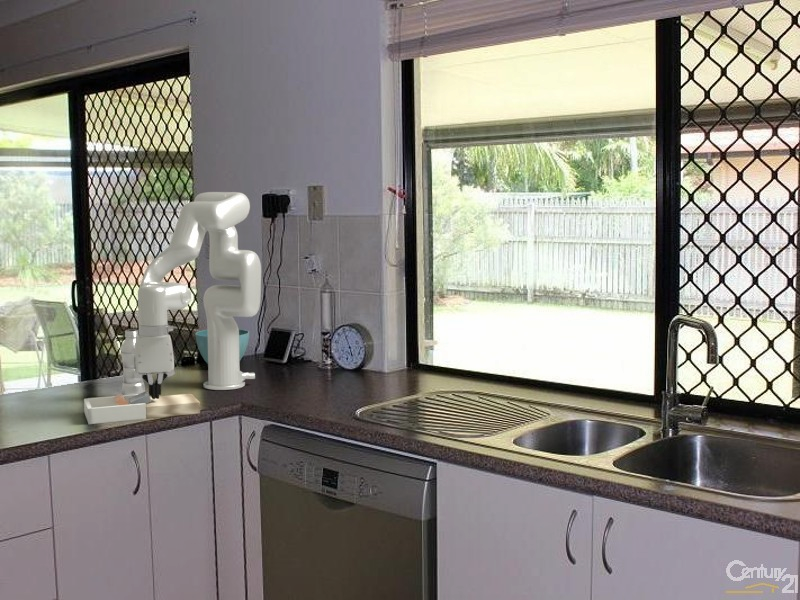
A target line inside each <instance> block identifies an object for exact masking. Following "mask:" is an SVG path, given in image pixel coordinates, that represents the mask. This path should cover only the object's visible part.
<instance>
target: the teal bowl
mask: <svg viewBox="0 0 800 600" xmlns="http://www.w3.org/2000/svg"><path fill="white" fill-rule="evenodd" d="M238 329H239V363H240V362H241V360H242V359H243V357H244V355H245V353H246V350H247V348H248V344H249V339H250V331H249V330H246V329H242V328H238ZM195 340H196V345H197V349H198V351H199V353H200V355H201V356H202V358H203V360H204V362H205V363H206V364H207V365H208V329H203V330H199V331H197V332H195Z"/></svg>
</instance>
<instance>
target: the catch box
mask: <svg viewBox="0 0 800 600" xmlns="http://www.w3.org/2000/svg"><path fill="white" fill-rule="evenodd" d="M136 395H138V394H134V395H123V394H121V396H122V397H123V398H124V399H125V400H126V401H127V402H128V403H129V404H130V402H129V398H131V397H133V396H136ZM115 396H116V395H110V396H100V397H88V398H86V397H85V398H83V410H84V416H85V419H86V421H87V423H88V425H93V424H94V425H95V424H103V423H104V424H105V423H106V424H107V423H116V422H126V421H135V420H136V421H138V420H145V419H147V417H146V404H145V403H141V404H130V405H118V404H117V403H116V402H115V400H114V399H113V398H114V397H115Z"/></svg>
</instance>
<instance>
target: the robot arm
mask: <svg viewBox="0 0 800 600" xmlns="http://www.w3.org/2000/svg"><path fill="white" fill-rule="evenodd" d="M250 210H251V202H250V200H249V198H248V196H247V195H246V194H244V193H243V192H237V191H232V192H231V191H207V192H202V193H201V192H200V193H199V194H197V195H196V196H195V198H194V200H193V201H190V202H187V203H185V204H184V205H183V207H182V208H181V210H180V212H179V216H178V218H177V221H176V225H175V228H174V231H173V233H172V237H171V239H170V242H169V245H168V246H167V247H166V248H165V249H163V251H161V252H160V253H159V254H158V255H157V256H156V257H155V258H154V259H153V260H152V261H151V262H150V263H149V264H148V265H147V267H146V269H145V271H144V273H143V276H142V279H141V282H140V286H139V288H138V290H137V307H138V308H137V309H138V310H137V311H138V313H137V314H138V317H137V319H138V335H139V336H136V339H135V347H134V369H135V372H134V377H135V378H139V379H143V381H144V382H146V383H148V394H149V396H150V397H152V399H155V398H157V399H159V396H162V383H163V382H164V381H165V380H166V379H167V378H170V377H172V376H174V375H175V374H176V372H175V357H174V348H173V342H172V338H171V335H170V334H169V333H170V332H173V331H174V326H173V325H169V324H168V311H169V310H171V311H179V310H183V309H185V308H186V307H188V306H189V304H190V303H191V300H192V292H191V290H190V288H189V287H188V286H187V285H186V284H184V283H180V282H168V281H167V282H166V281H165V282H164V281H163V280H164V278H165V277H166V276H167V274H169V273H170V272H172V271H173V270H174V269H177V268H179V267H182V266H183V265H185V264H188V263H190V262H192V261H194V260H195V259H197V258H198V257H199V255H200V252H201V248H202V245H203V243H204V238H205V235H206V233H207V232H208V236H209V261H208V262H209V265H208V266H209V274H210V276H211V277H212V279H214V280H217V281H225V282H226V281H229V282H231V281H232V282H240V285H234V284H215V285H211V286H210V287H208V288H207V289H206V290H205V292H204V294H203V298H202V299H203V300H202V301H203V307H204V311H205V317H206V326H207V327H206V328H207V329H206V330H208V364H207V367H208V370H207V373H208V380H206V381H205V382H203V388H204V389H207V390H214V391H227V390H228V391H229V390H236V389H237V390H238V389H241V388H243V387H245V385H246V382H245V380H255V379H256V373H255V372H247V371H246V372H243V371H241V370H240V362H239V329H240V328H239V326H238V323H237V322H236V320H235V318H234V317H236V318H237V317H239V318H252V317H254V316H256V315H257V314H258V312H259V310H260V307H261V300H262V299H261V297H262V296H261V295H262V294H261V292H262V291H261V290H262V263H261V260H260V257H259V255H258V254H257V253H256V252H255V251H252V250H249V249H239V235H238V230H237V228H236V227H235V226H236V225H237V224H239V223H241V222H243V221H244V220H245V219H247V218H248V215H249V212H250ZM153 374H156V377H155V378H156V379H155V380H154V379H153Z"/></svg>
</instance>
